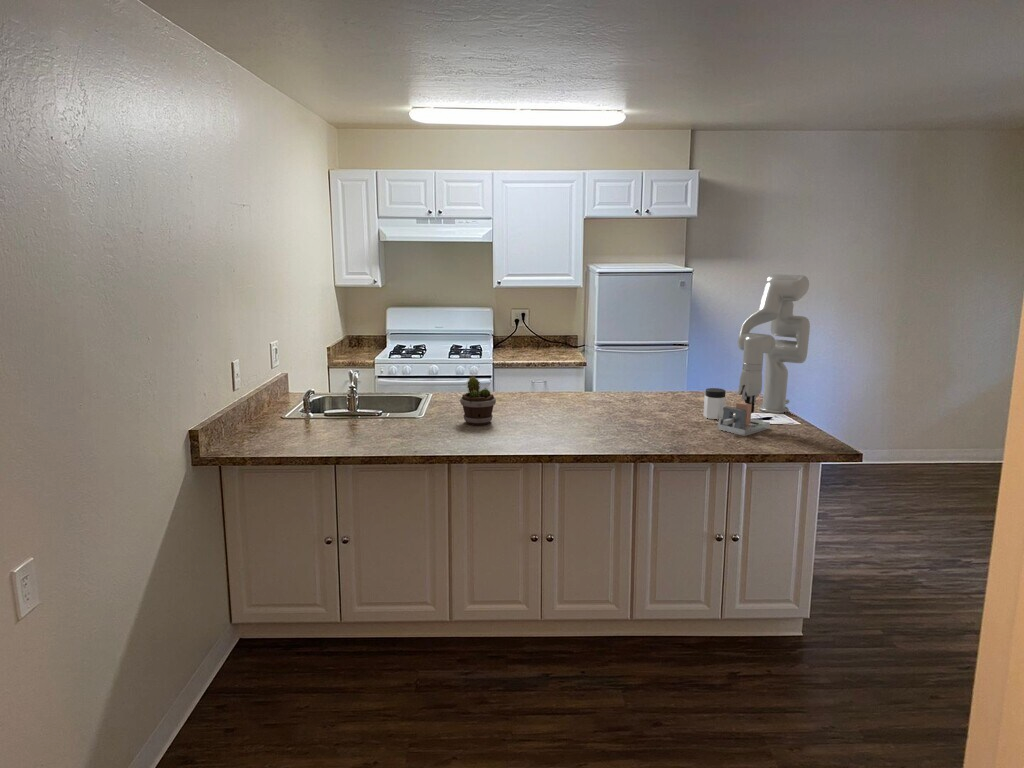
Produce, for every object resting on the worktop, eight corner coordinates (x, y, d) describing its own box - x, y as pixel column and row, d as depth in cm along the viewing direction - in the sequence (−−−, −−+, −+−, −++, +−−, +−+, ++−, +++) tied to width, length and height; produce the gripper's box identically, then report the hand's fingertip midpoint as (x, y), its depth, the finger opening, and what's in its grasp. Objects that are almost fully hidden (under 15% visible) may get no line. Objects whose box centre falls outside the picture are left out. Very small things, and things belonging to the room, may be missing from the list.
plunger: (740, 420, 292) (742, 401, 291) (758, 424, 286) (760, 405, 285) (718, 426, 283) (720, 407, 281) (737, 431, 277) (738, 410, 275)
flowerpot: (503, 424, 296) (503, 376, 292) (469, 429, 288) (469, 380, 284) (485, 416, 308) (485, 370, 304) (453, 421, 300) (453, 373, 296)
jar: (714, 420, 303) (716, 392, 301) (699, 416, 310) (701, 389, 307) (728, 418, 308) (730, 390, 305) (713, 414, 314) (715, 387, 312)
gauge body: (743, 422, 300) (744, 400, 298) (769, 428, 291) (771, 405, 289) (717, 429, 289) (719, 406, 287) (744, 436, 280) (746, 412, 278)
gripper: (754, 364, 294) (751, 407, 298) (733, 368, 285) (730, 413, 289) (771, 366, 289) (767, 411, 292) (750, 370, 279) (746, 416, 283)
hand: (749, 412), depth 291 cm, fingers closed
